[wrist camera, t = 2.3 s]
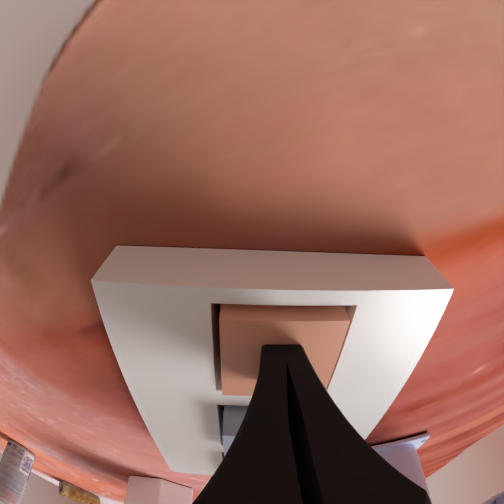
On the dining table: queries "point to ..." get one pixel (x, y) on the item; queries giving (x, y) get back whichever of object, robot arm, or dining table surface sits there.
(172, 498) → the jar
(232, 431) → the button slate
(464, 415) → the dining table surface
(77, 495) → the pastry
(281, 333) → the button terracotta
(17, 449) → the energy drink
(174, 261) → the button board
